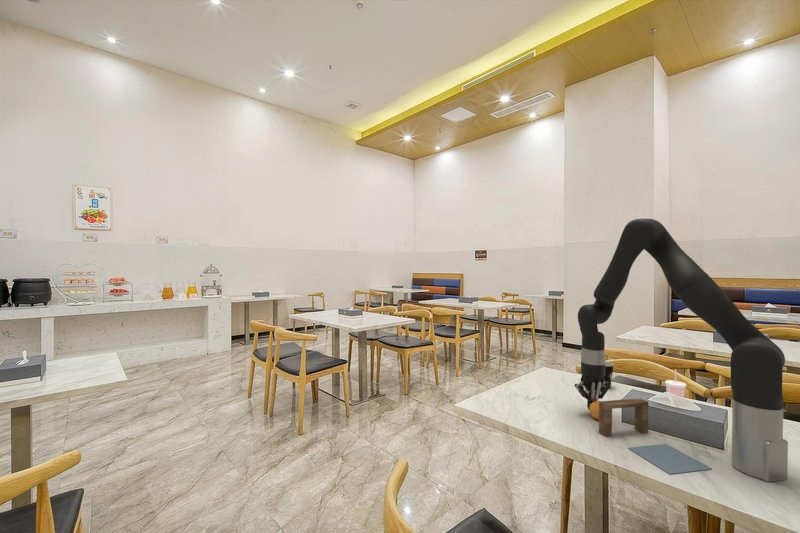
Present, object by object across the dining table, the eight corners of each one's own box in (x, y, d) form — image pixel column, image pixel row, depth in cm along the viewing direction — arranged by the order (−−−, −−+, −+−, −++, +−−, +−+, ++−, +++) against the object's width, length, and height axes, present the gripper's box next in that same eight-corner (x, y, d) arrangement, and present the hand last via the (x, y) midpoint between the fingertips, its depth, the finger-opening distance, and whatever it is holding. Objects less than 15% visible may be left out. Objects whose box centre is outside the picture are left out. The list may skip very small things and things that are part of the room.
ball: (600, 413, 126) (613, 422, 120) (585, 415, 125) (597, 424, 119) (601, 396, 125) (614, 404, 119) (585, 398, 124) (597, 407, 118)
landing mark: (712, 469, 92) (712, 468, 92) (669, 474, 90) (669, 473, 90) (665, 444, 105) (665, 443, 105) (627, 448, 103) (627, 447, 103)
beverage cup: (690, 409, 130) (690, 371, 130) (675, 411, 129) (676, 372, 129) (674, 403, 136) (675, 366, 136) (660, 404, 135) (661, 367, 135)
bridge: (648, 432, 112) (648, 401, 112) (606, 437, 109) (606, 405, 109) (639, 428, 115) (640, 398, 115) (598, 432, 112) (599, 401, 112)
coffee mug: (601, 382, 160) (601, 360, 160) (618, 388, 152) (618, 365, 152) (580, 385, 156) (580, 362, 156) (596, 391, 148) (597, 367, 148)
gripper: (583, 365, 121) (582, 416, 121) (617, 363, 123) (617, 413, 124) (568, 359, 128) (568, 407, 129) (601, 357, 131) (601, 404, 131)
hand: (592, 410), depth 126 cm, fingers closed
